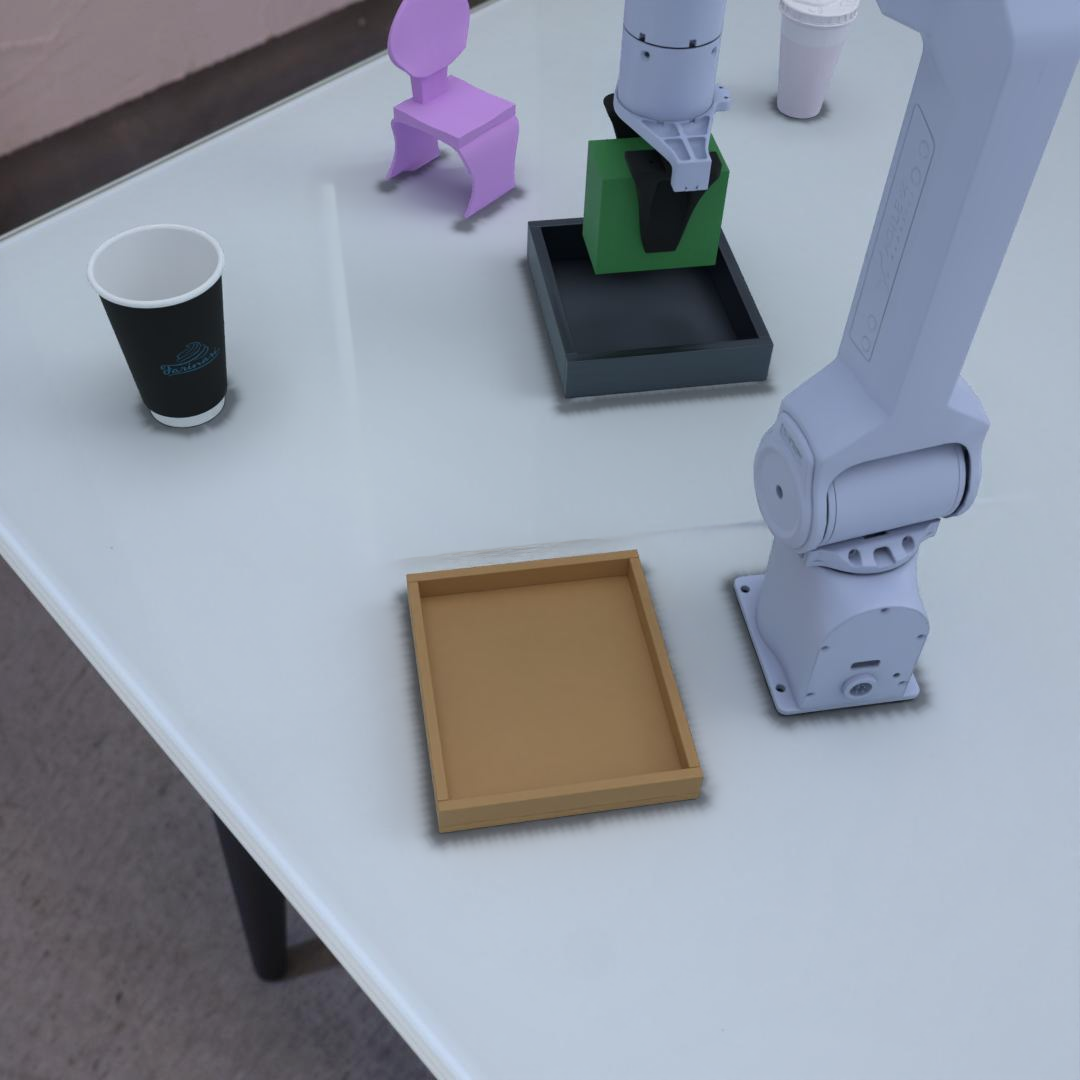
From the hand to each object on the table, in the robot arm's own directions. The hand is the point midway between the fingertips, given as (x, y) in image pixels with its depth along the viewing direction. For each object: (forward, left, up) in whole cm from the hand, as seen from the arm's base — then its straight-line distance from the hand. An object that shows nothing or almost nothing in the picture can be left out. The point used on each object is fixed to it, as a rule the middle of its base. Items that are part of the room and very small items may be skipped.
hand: (650, 226), depth 85 cm
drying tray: (-29, +12, -8) cm, 33 cm away
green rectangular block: (0, 0, -2) cm, 2 cm away
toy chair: (+19, +11, -9) cm, 23 cm away
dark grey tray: (+1, 0, -8) cm, 8 cm away
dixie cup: (-3, +31, -9) cm, 32 cm away
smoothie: (+28, -20, -9) cm, 35 cm away
